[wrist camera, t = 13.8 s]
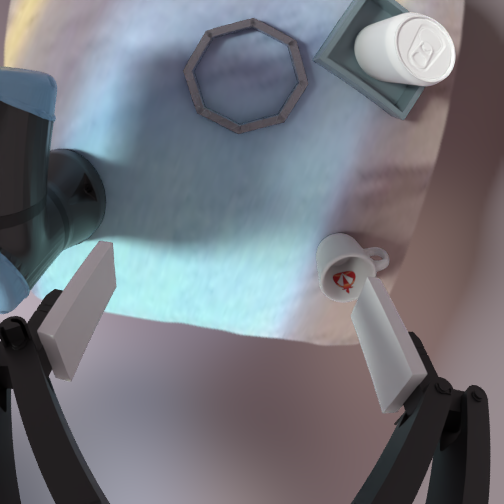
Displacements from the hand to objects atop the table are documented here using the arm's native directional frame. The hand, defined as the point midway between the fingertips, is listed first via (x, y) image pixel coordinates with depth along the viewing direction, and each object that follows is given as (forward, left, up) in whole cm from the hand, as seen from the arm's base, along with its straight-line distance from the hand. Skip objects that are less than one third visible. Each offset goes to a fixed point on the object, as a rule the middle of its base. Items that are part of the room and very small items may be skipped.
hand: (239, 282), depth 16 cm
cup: (+20, -5, -29) cm, 36 cm away
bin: (+8, +21, -29) cm, 37 cm away
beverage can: (+8, +21, -28) cm, 36 cm away
